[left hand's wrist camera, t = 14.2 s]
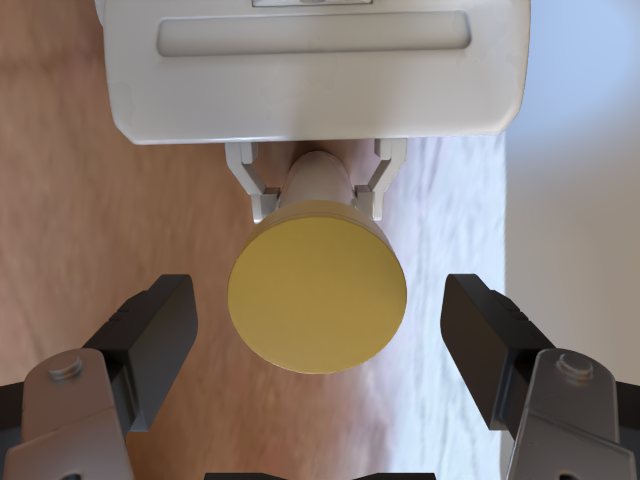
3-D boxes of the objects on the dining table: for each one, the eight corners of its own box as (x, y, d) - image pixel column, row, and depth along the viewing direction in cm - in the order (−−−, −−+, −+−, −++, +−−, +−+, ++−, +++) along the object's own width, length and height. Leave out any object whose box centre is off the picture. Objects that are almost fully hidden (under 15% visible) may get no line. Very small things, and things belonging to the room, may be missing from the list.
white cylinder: (324, 138, 26) (332, 197, 10) (359, 187, 28) (415, 307, 12) (275, 175, 27) (215, 282, 11) (312, 220, 29) (304, 375, 13)
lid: (334, 164, 11) (337, 176, 10) (424, 288, 13) (440, 317, 11) (206, 260, 13) (188, 286, 11) (303, 363, 14) (301, 400, 12)
